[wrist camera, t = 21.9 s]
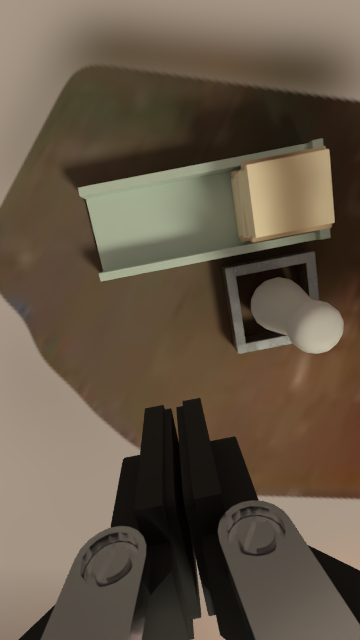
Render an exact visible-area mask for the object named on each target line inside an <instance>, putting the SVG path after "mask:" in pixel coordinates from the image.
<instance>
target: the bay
mask: <svg viewBox="0 0 360 640" xmlns="http://www.w3.org/2000/svg"><path fill="white" fill-rule="evenodd" d="M318 147H323V138H321V139H316V140H312V141H310V142H309V143H306V144H301V145H296V146H291V147H285V148H280V149H275V150H270V151H265V152H260V153H254V154H249V155H244V156H239V157H234V158H229V159H223V160H218V161H213V162H208V163H203V164H198V165H192V166H187V167H182V168H177V169H172V170H167V171H162V172H156V173H151V174H146V175H141V176H136V177H131V178H125V179H120V180H115V181H110V182H105V183H100V184H94V185H89V186H84V187H79V188H78V191H79V195H80V197H82V198H84V199H86V202H87V206H88V210H89V214H90V218H91V223H92V227H93V231H94V235H95V239H96V243H97V247H98V252H99V256H100V260H101V264H102V268H103V272H101V273H99V276H100V280H101V281H106V280H111V279H116V278H121V277H126V276H131V275H136V274H142V273H147V272H152V271H157V270H162V269H167V268H173V267H178V266H183V265H188V264H193V263H198V262H204V261H209V260H214V259H219V258H224V257H229V256H234V255H240V254H245V253H250V252H255V251H260V250H265V249H271V248H276V247H281V246H286V245H291V244H296V243H302V242H307V241H312V240H322V239H327V238H331V236H330V228H326V229H321V230H316V231H311V232H306V233H301V234H295V235H290V236H285V237H280V238H275V239H270V240H264V241H259V242H254V243H251V240H250V241H245V242H241V240H240V238H239V235H238V228H237V221H236V214H235V207H234V200H233V193H232V185H231V178H232V176H231V173H232V172H233V171H238V170H241V165H240V164H241V163H242V162H245V161H251V160H256V159H261V158H266V157H271V156H276V155H282V154H287V153H292V152H297V151H302V150H307V149H313V148H318Z"/></svg>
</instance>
